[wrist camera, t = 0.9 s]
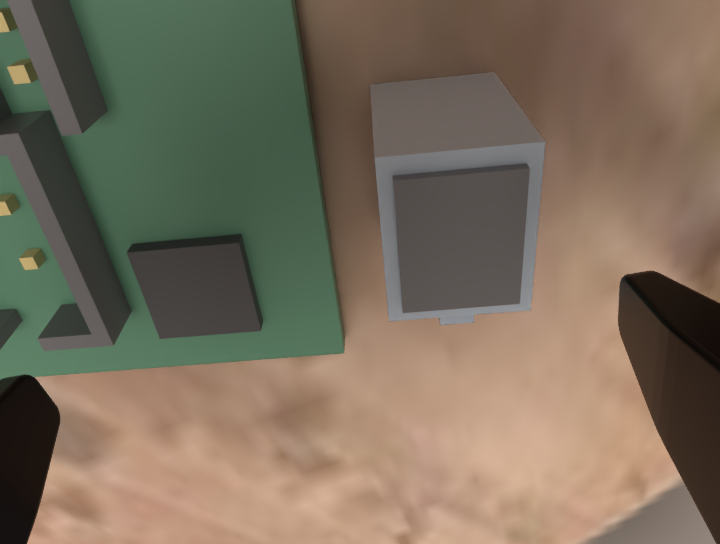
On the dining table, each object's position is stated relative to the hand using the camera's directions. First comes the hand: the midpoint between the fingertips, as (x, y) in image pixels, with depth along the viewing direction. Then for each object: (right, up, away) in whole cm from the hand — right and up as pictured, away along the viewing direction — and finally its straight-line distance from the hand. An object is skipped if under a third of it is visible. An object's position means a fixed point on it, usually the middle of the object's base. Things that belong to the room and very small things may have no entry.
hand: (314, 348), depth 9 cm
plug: (+3, +5, +11) cm, 13 cm away
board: (-9, +4, +12) cm, 15 cm away
